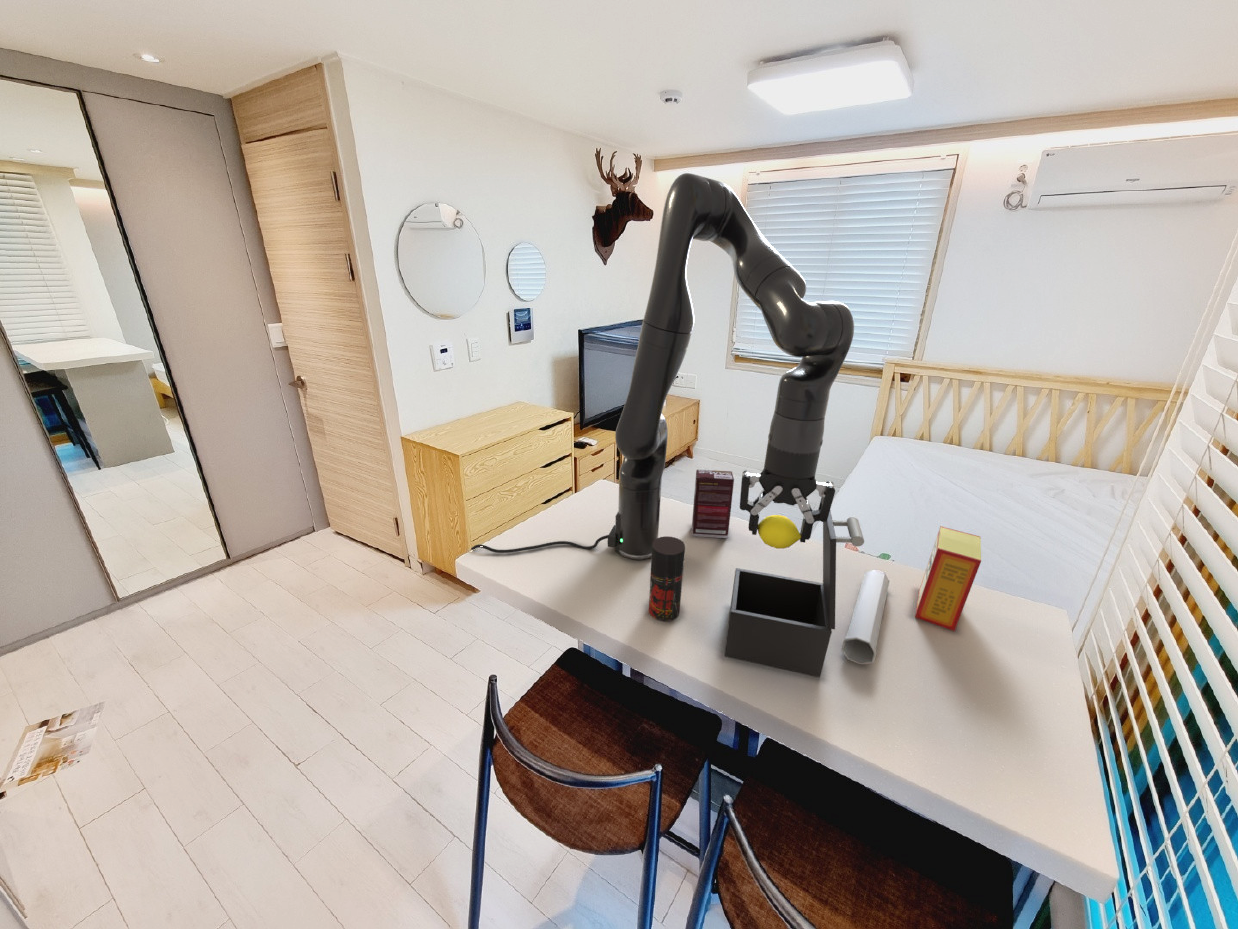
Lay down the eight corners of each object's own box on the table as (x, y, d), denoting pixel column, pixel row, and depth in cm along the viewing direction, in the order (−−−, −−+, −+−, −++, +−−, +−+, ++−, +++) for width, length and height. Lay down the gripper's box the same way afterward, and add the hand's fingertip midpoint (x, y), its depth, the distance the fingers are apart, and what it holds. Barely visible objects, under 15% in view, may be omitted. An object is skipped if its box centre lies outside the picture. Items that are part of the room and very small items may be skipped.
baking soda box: (918, 591, 104) (940, 524, 97) (955, 603, 100) (981, 534, 94) (914, 617, 96) (938, 547, 90) (954, 631, 93) (981, 559, 86)
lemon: (750, 547, 82) (755, 519, 79) (758, 532, 86) (763, 504, 84) (794, 560, 79) (800, 531, 76) (801, 543, 83) (806, 515, 81)
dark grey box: (724, 656, 86) (730, 611, 82) (730, 609, 97) (735, 567, 93) (820, 677, 83) (831, 631, 79) (814, 626, 94) (824, 583, 90)
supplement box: (725, 528, 124) (733, 470, 118) (727, 539, 120) (735, 479, 113) (690, 526, 125) (695, 468, 119) (691, 536, 121) (696, 477, 114)
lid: (830, 538, 72) (868, 539, 71) (823, 499, 83) (855, 498, 82) (829, 629, 78) (864, 631, 77) (822, 581, 90) (853, 582, 88)
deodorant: (643, 605, 98) (646, 540, 92) (670, 597, 100) (675, 533, 94) (657, 625, 93) (661, 557, 87) (685, 616, 95) (691, 550, 89)
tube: (861, 564, 105) (839, 635, 86) (890, 565, 102) (874, 639, 82) (864, 586, 106) (843, 662, 87) (893, 588, 103) (878, 667, 84)
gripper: (842, 438, 76) (822, 531, 83) (746, 428, 80) (734, 518, 87) (849, 457, 70) (826, 556, 77) (743, 445, 73) (731, 541, 80)
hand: (777, 535), depth 82 cm, fingers closed on lemon, 7 cm apart
